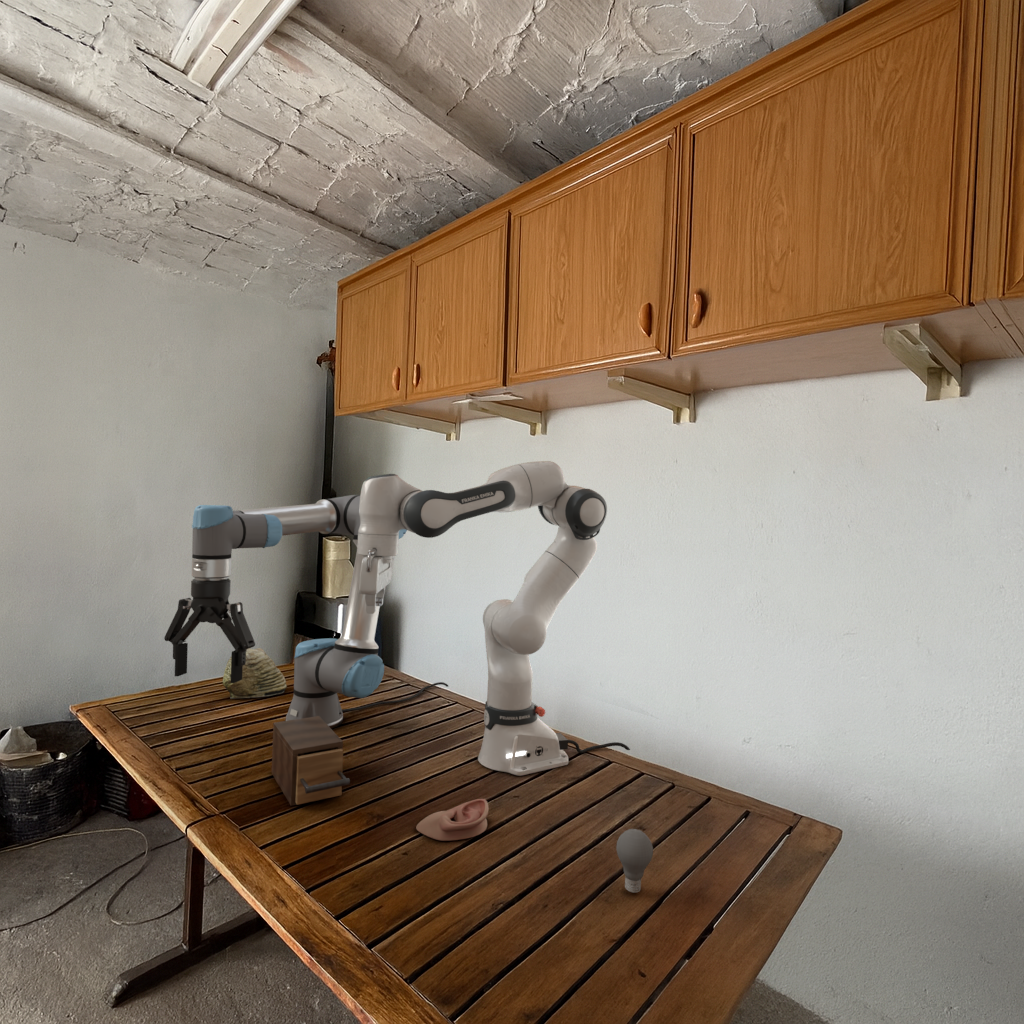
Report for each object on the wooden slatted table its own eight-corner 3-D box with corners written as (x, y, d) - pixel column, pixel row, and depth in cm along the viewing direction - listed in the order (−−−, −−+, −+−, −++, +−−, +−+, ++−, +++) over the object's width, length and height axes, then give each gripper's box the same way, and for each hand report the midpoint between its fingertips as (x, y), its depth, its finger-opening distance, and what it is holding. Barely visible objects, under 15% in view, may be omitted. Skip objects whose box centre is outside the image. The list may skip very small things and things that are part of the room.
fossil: (218, 695, 195) (220, 647, 195) (278, 685, 208) (279, 640, 207) (228, 703, 189) (230, 653, 188) (289, 692, 201) (290, 645, 201)
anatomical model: (410, 815, 119) (430, 788, 131) (410, 836, 119) (430, 807, 131) (479, 825, 117) (493, 797, 128) (478, 847, 117) (492, 817, 128)
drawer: (350, 806, 128) (352, 760, 128) (304, 817, 123) (306, 768, 123) (319, 766, 146) (320, 725, 146) (278, 774, 141) (279, 732, 141)
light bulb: (610, 879, 108) (613, 822, 108) (644, 879, 109) (647, 822, 109) (619, 902, 102) (622, 840, 102) (655, 901, 103) (658, 840, 103)
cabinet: (340, 795, 135) (343, 741, 135) (290, 806, 129) (293, 750, 129) (317, 764, 150) (319, 715, 149) (271, 773, 144) (273, 722, 144)
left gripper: (147, 576, 133) (144, 676, 133) (252, 584, 127) (249, 689, 128) (173, 572, 140) (171, 667, 141) (274, 580, 135) (271, 679, 135)
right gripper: (384, 551, 129) (381, 618, 130) (398, 544, 150) (395, 602, 150) (353, 549, 129) (350, 617, 129) (371, 543, 150) (369, 601, 150)
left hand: (208, 678), depth 134 cm, fingers open, 13 cm apart
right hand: (374, 609), depth 140 cm, fingers open, 8 cm apart
